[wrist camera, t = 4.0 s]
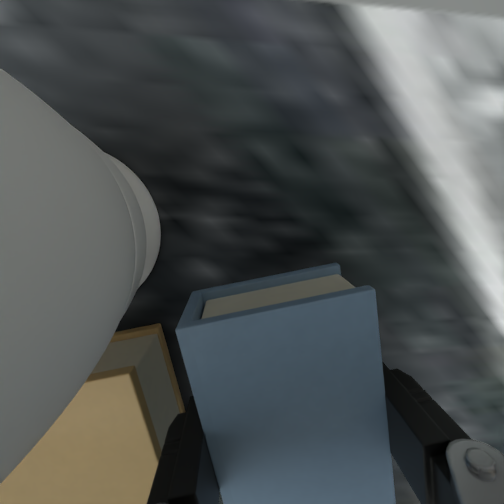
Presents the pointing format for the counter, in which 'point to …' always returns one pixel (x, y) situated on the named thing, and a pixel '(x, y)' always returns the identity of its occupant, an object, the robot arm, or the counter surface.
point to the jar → (60, 262)
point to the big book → (105, 430)
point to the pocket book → (290, 388)
